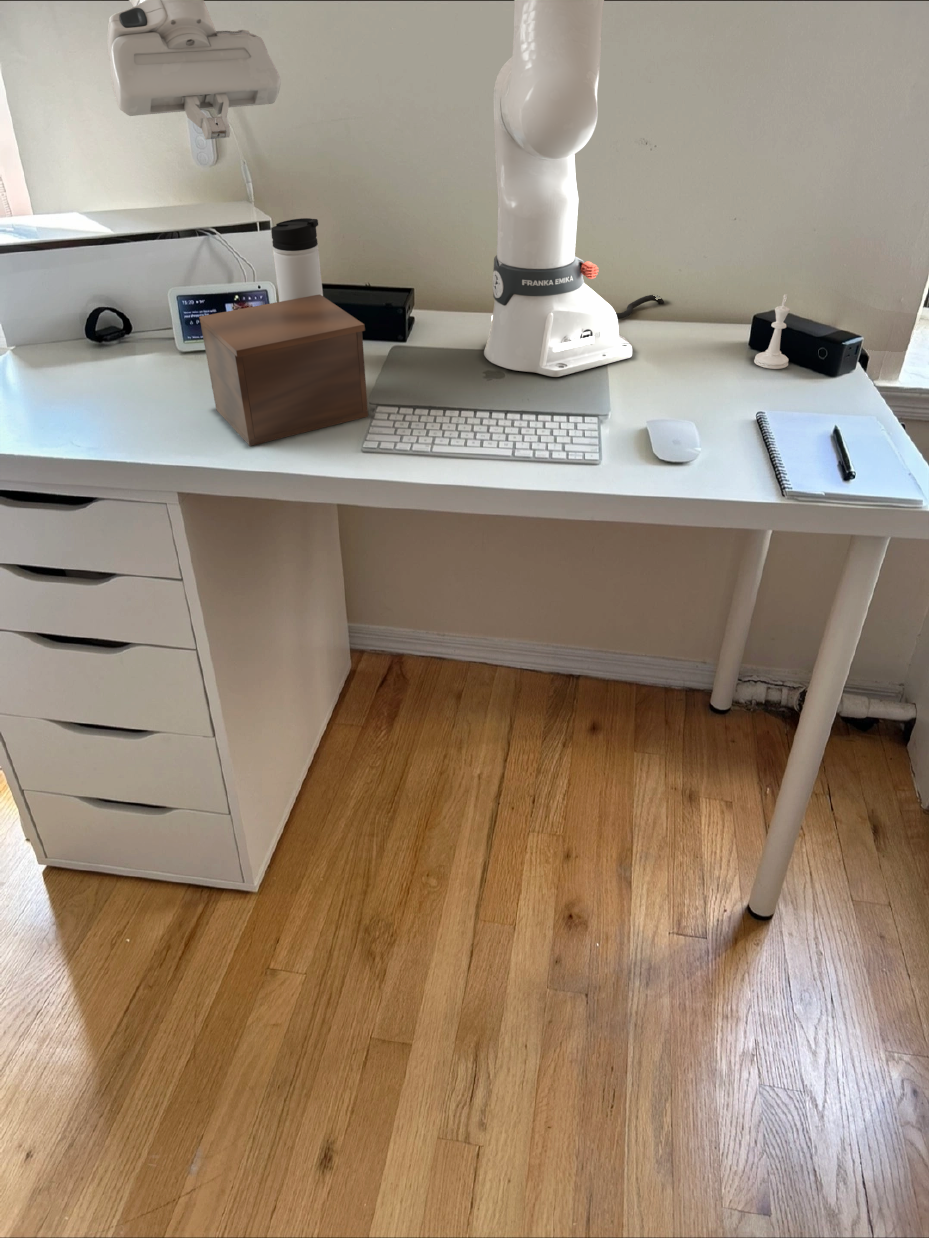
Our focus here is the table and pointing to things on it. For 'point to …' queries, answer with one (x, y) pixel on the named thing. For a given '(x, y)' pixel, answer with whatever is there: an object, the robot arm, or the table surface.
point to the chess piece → (775, 342)
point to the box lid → (280, 324)
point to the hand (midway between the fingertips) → (218, 135)
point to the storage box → (288, 386)
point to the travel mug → (296, 258)
